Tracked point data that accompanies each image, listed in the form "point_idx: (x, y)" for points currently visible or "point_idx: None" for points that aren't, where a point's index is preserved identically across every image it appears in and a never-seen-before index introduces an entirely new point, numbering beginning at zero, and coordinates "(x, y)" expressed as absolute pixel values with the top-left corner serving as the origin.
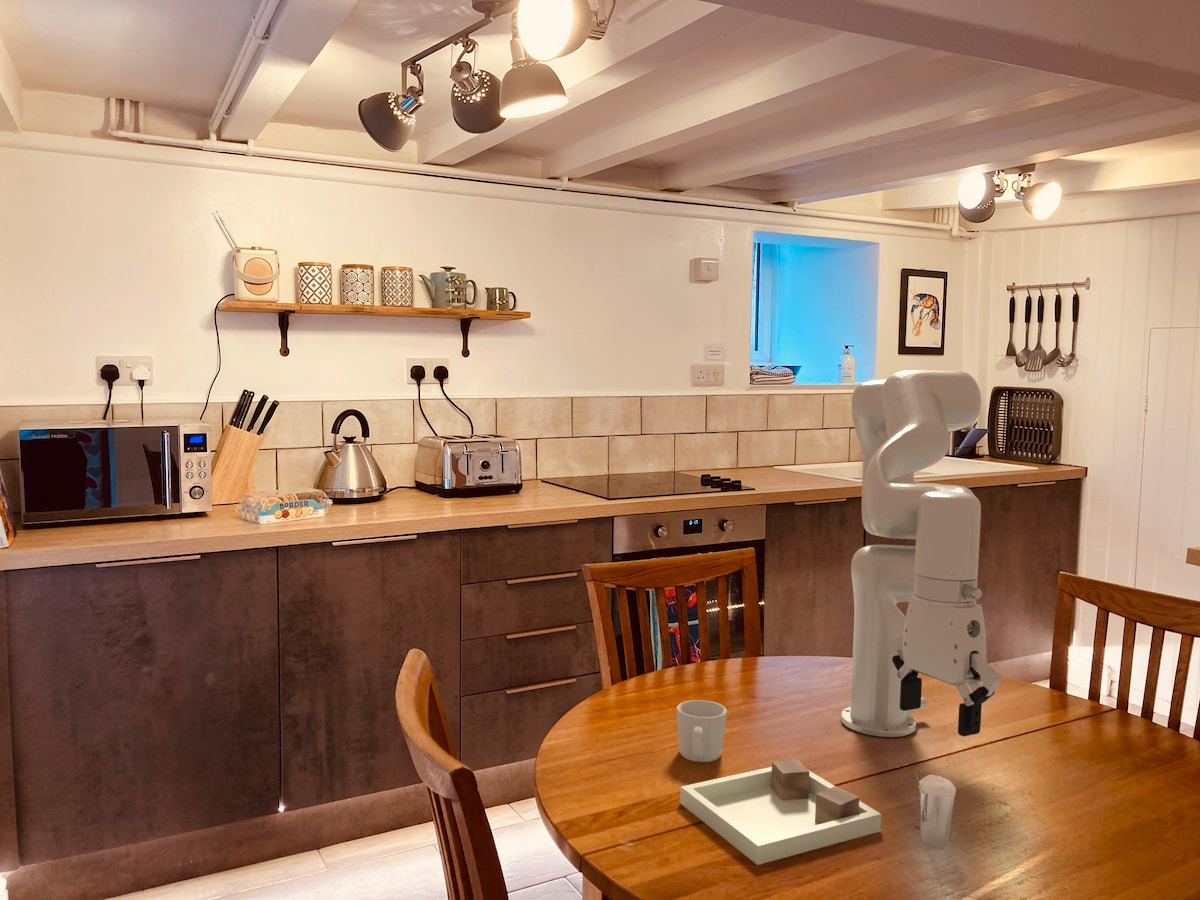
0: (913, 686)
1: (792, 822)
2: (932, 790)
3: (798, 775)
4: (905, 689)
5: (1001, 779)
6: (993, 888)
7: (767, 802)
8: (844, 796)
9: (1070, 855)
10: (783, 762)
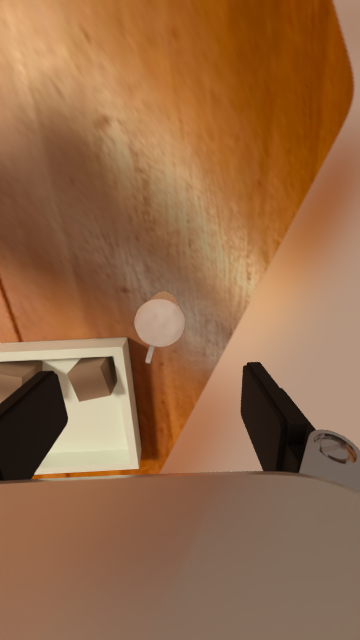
0: (18, 454)
1: (86, 400)
2: (171, 343)
3: None
4: (32, 476)
5: (30, 37)
6: (243, 307)
7: None
8: (93, 380)
9: (240, 168)
10: None
